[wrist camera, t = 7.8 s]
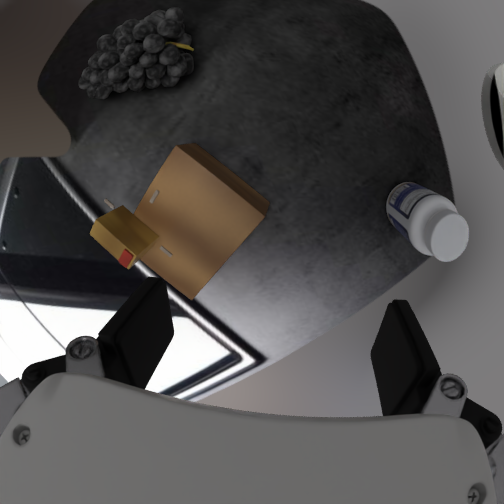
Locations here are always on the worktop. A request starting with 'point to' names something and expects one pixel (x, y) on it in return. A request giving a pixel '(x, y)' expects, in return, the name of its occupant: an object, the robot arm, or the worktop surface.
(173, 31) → the fruit
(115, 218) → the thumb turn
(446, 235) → the pill bottle
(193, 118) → the worktop surface
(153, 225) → the brown flat block
